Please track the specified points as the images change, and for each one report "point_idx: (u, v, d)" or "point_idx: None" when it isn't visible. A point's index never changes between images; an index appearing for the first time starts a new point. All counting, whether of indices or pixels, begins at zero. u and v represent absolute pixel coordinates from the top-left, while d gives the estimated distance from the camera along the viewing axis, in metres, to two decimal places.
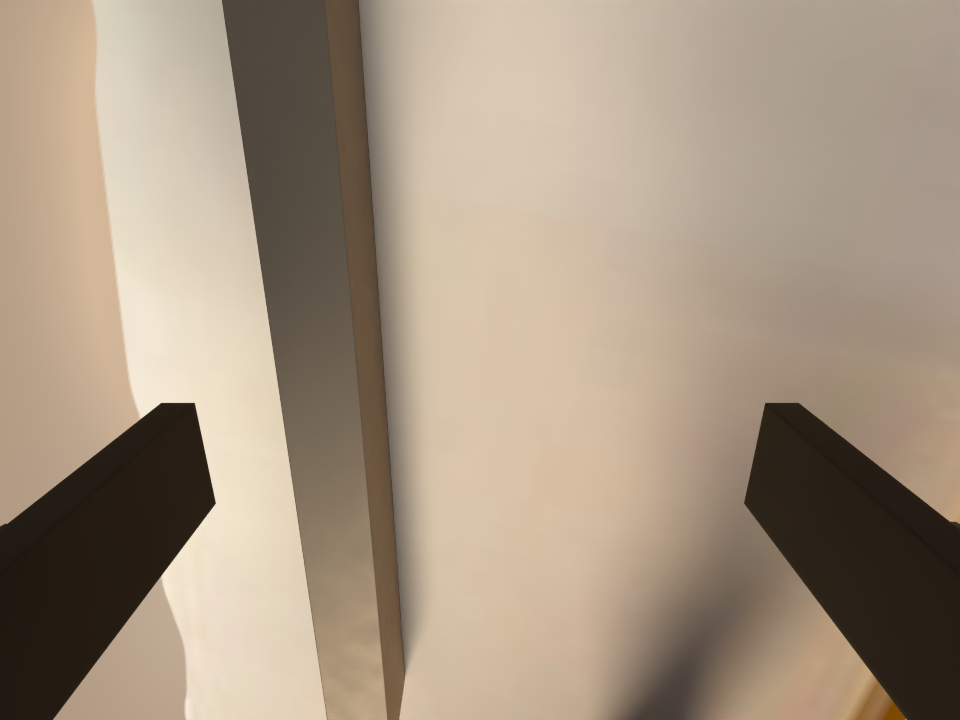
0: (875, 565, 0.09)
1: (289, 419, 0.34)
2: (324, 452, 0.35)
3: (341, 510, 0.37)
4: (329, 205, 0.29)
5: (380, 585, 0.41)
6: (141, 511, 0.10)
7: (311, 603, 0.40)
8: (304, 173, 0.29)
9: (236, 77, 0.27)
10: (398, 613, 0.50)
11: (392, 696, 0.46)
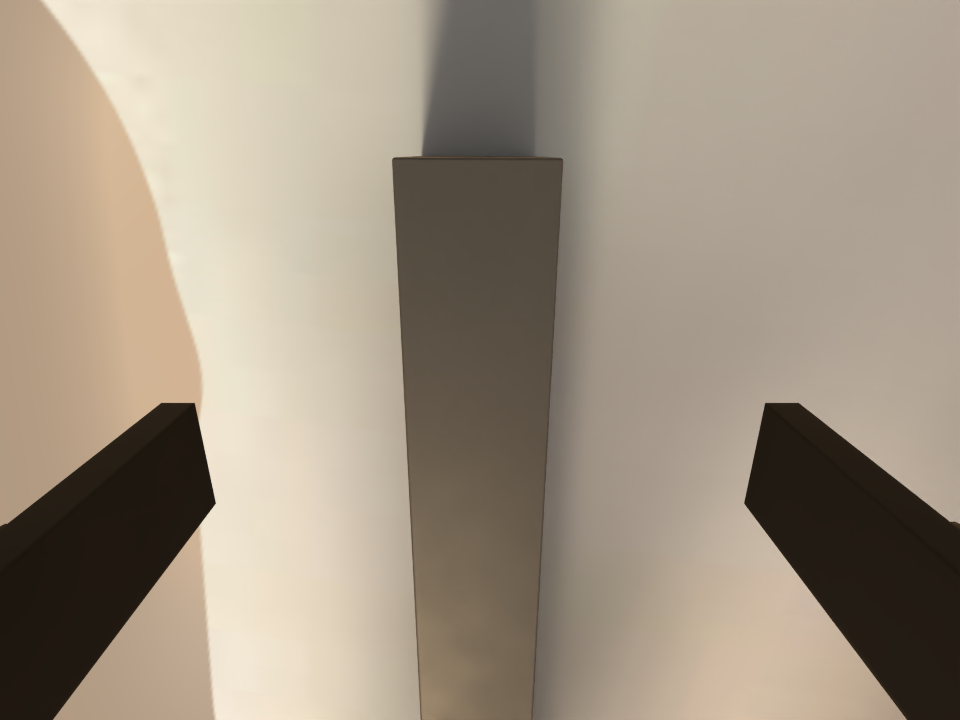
0: (875, 565, 0.09)
1: None
2: None
3: None
4: (517, 678, 0.23)
5: None
6: (141, 511, 0.10)
7: None
8: (491, 650, 0.23)
9: (417, 562, 0.21)
10: None
11: None
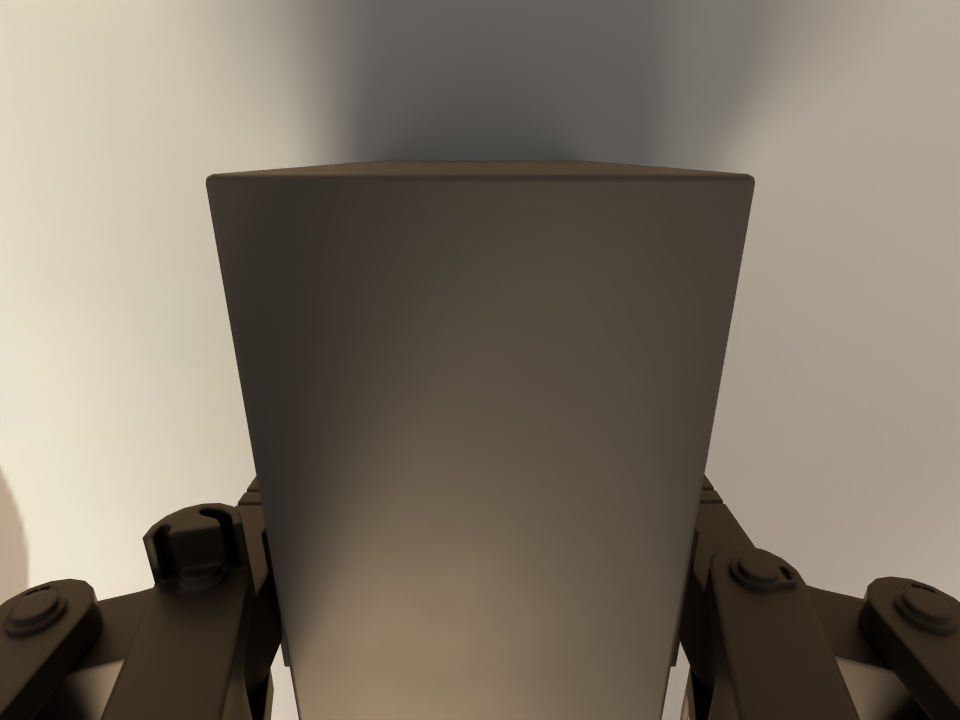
0: None
1: None
2: None
3: None
4: None
5: None
6: None
7: None
8: None
9: None
10: None
11: None
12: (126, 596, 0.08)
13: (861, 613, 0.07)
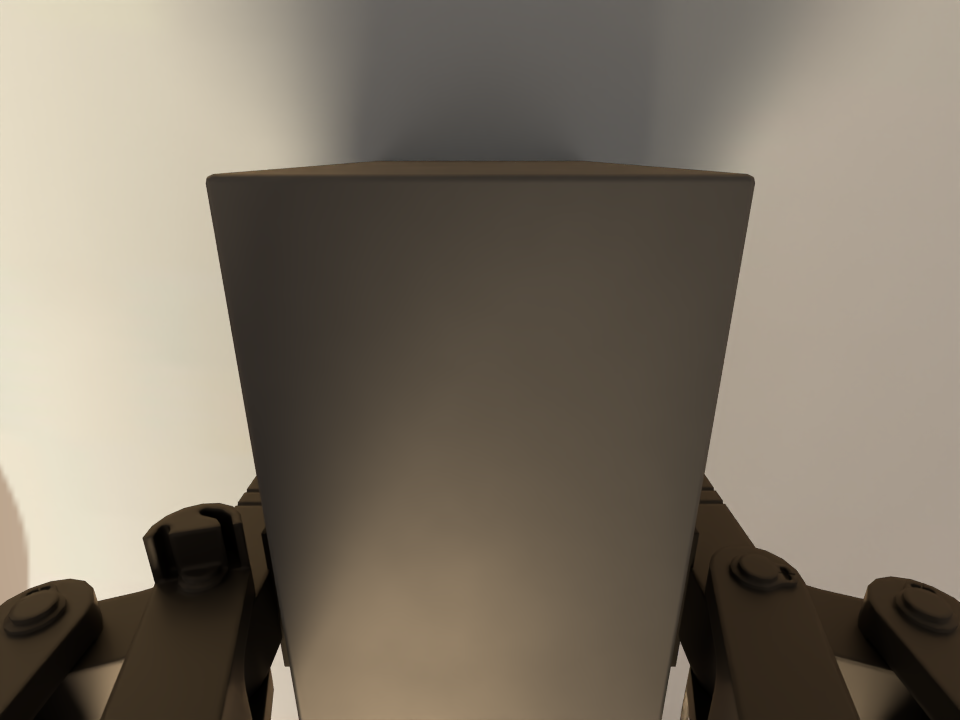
0: None
1: None
2: None
3: None
4: None
5: None
6: None
7: None
8: None
9: None
10: None
11: None
12: (126, 596, 0.08)
13: (861, 613, 0.07)
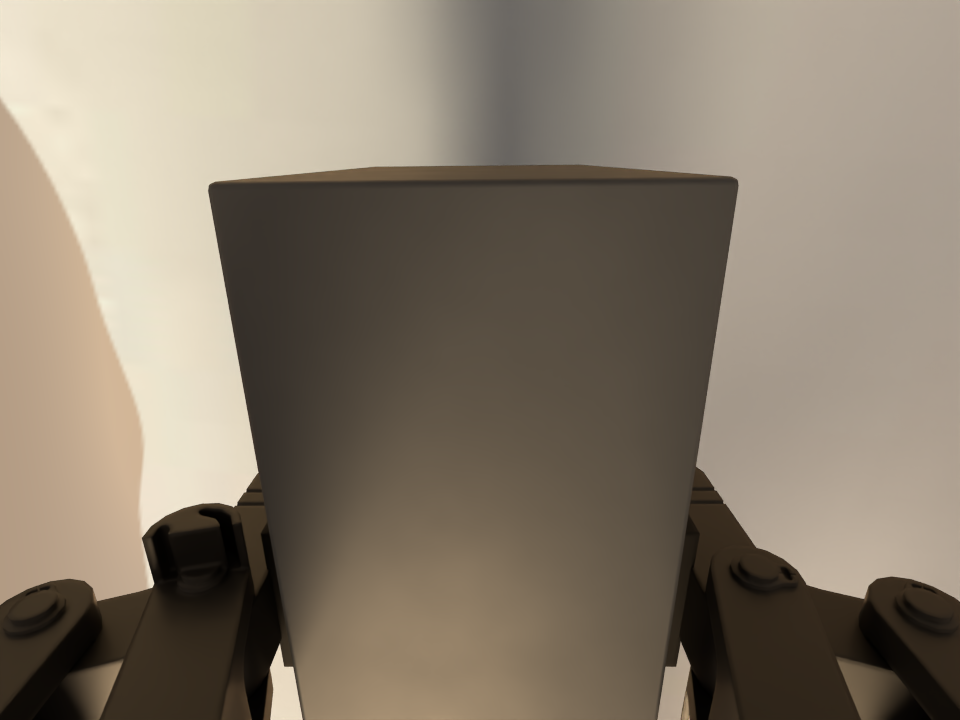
0: None
1: None
2: None
3: None
4: None
5: None
6: None
7: None
8: None
9: None
10: None
11: None
12: (126, 596, 0.08)
13: (863, 613, 0.07)
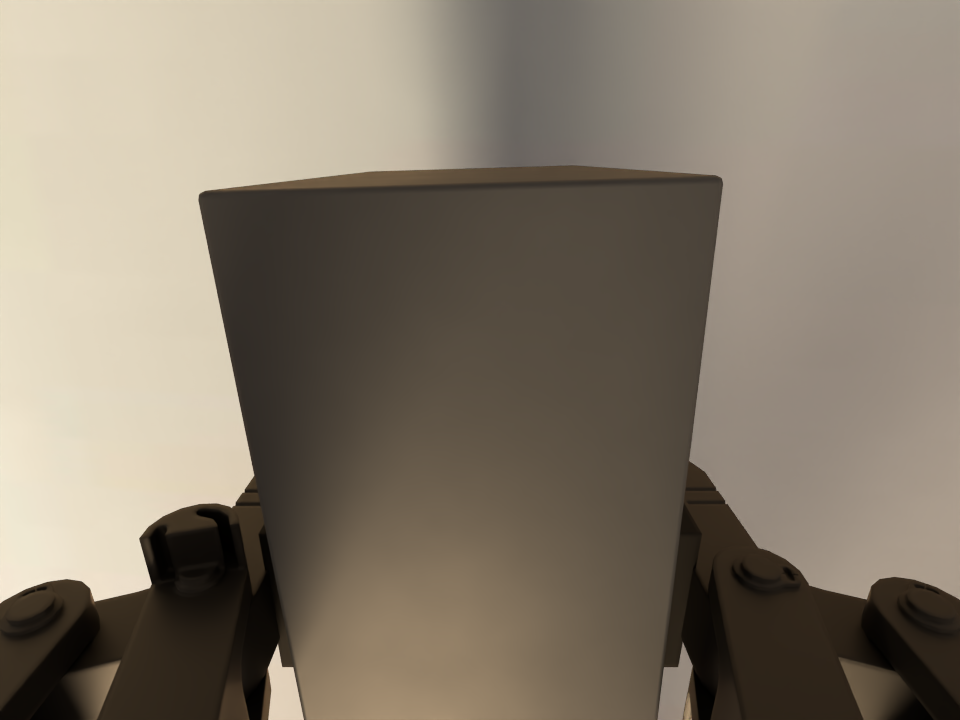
0: None
1: None
2: None
3: None
4: None
5: None
6: None
7: None
8: None
9: None
10: None
11: None
12: (123, 597, 0.08)
13: (865, 614, 0.07)
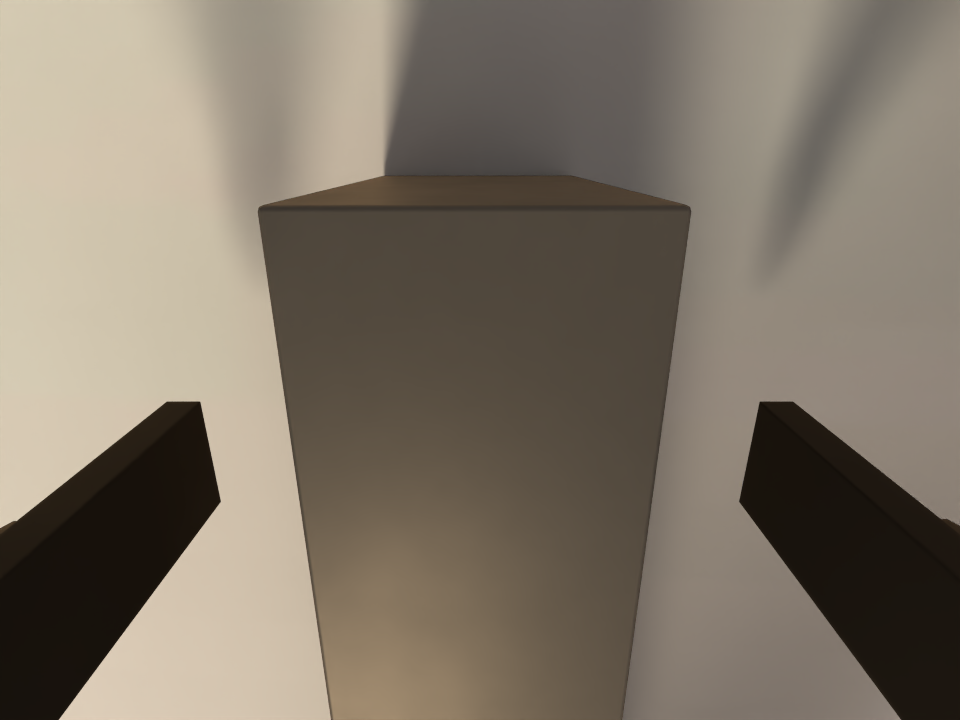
0: (867, 562, 0.09)
1: None
2: None
3: None
4: None
5: None
6: (148, 508, 0.10)
7: None
8: None
9: None
10: None
11: None
12: None
13: None
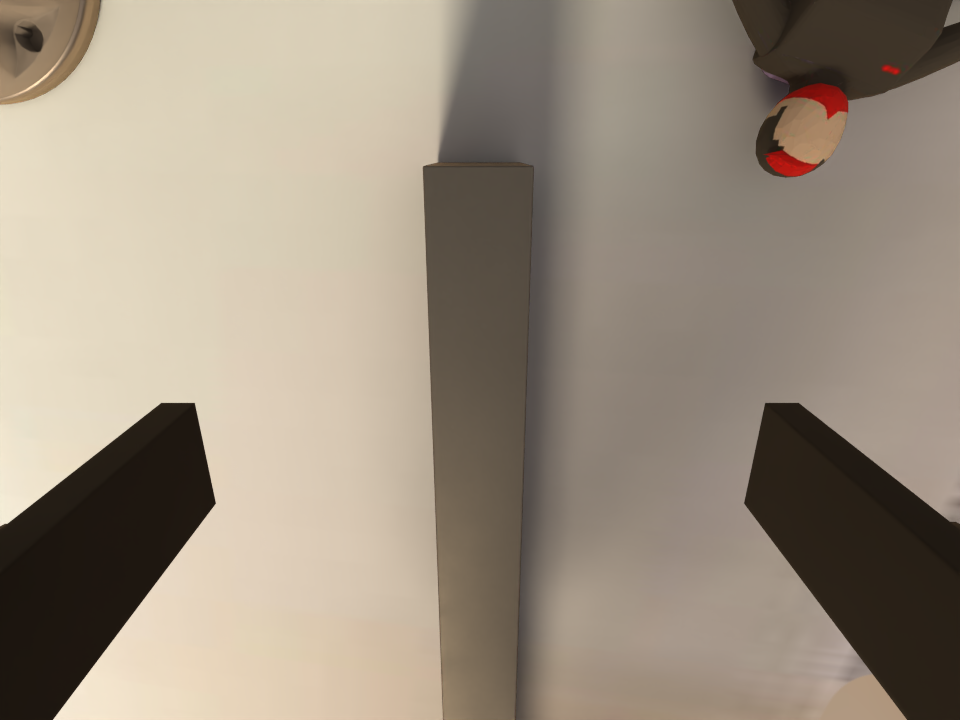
0: (875, 565, 0.09)
1: (448, 700, 0.36)
2: None
3: None
4: (508, 543, 0.32)
5: None
6: (141, 511, 0.10)
7: None
8: (489, 520, 0.31)
9: (436, 451, 0.29)
10: None
11: None
12: None
13: None
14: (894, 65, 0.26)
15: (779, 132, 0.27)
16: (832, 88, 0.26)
